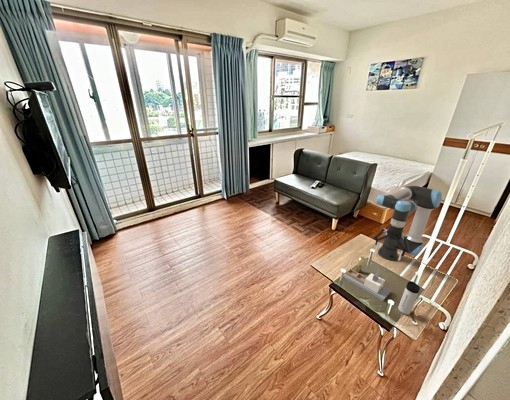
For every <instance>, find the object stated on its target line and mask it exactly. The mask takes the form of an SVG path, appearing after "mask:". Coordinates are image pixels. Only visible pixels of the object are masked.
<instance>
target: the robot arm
mask: <svg viewBox="0 0 510 400" xmlns="http://www.w3.org/2000/svg"><path fill="white" fill-rule="evenodd" d="M442 198H443V197H442V192H441V191H440V190H437V189H433V188H429V187H425V186H424V187H423V186H418V185H407V186H402V187H400V188H399V189H398V190H397V191H394V192H391V193H389V194H387V195H386V194H378V196H377V197H376V199H375V203H376V205H377V206H380V207H383V208H387V209H390V210H393V213H392V217H391V219H390V223H389V226H388V228H387V229H386V228H385V227H383V228H382V229H381V231H380V232H379V233H377V234H376V235H375V236H374V237H373V240H375V244H374V245H375V251H377V255H378V256H380V257H381V258H383V259H384V260H387V261H396V260H397V261H400V260H401V259H402V257H404V256H405V254H409V255H411V256H413V257H414V256H415V257H416V256H418V255H419V254H420V253H421V252H422V250H423V248H424V247H425V243H423V242H424V241H423V238H422V237H423V235H424V231H425V229H426V227H427V223H428V221H429V219H430V216H431V213H432V211H434V210H435V209H436V208H439V207H440V205H441V201H442ZM414 212H415V213H414ZM413 213H414V216H413V220H412V222H411V225H410V228H409V232H408V234H405V235H404V233H403V231H404V228H405V225H406V222H407V221H408V217H409V215H411V214H413ZM383 233H385V235H382V234H383ZM381 235H382V236H381ZM382 240H383V242H382V244H381V241H382ZM380 244H381V246H380ZM398 250H400V254H399V253H398V252H399V251H398Z"/></svg>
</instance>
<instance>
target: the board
mask: <svg viewBox="0 0 510 400" xmlns="http://www.w3.org/2000/svg"><path fill="white" fill-rule="evenodd" d="M343 277H344V278H345V280H346V281H348V282H349V283H352V284H353V285H355V286H356V287H358V288H359V289H362V290H363V291H365V292H366V293H368V294H370V295H372V296H374V297H375V298H377V299H379V300H381V301H382V302H384V301H385V300H386V298H387V297H388V296H389V294H391V290H390V289H389V288H387V287H385V286H384V285H383V287H382V288H381V289H380V291H379V292H378V293H376V292H374V291H373V290H371V289H369V288H367V287H366V286H364V282H365V279H366V278H367V277H368V276H365V275H363V274H362V273H358V272H356V270H355V269H352V268H349V269H348V270H346V271H345V273H344V274H343V275H342V278H343ZM344 278H343V279H344Z"/></svg>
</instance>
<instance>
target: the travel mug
mask: <svg viewBox="0 0 510 400" xmlns="http://www.w3.org/2000/svg"><path fill="white" fill-rule="evenodd" d="M420 290H421V287H420V286H419V285H418V284H417V283H415V282H414V281H412V280H410V281H408V282H407V283H406V286H405V288H404V290H403V293H402V296H401V299H400V302H399V304H398V307H397V310H398V312H400V313H401V314H402V315H404V316H410V314H411V312H412V309H413V307H414V305H415V302H416V300H417V297H418V295H419V292H420Z"/></svg>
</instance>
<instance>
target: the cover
mask: <svg viewBox="0 0 510 400" xmlns="http://www.w3.org/2000/svg"><path fill="white" fill-rule="evenodd" d="M366 277H367V278H366V279H365V282H364V286H366V287H367V288H369V289H371V290H373V291H374V292H376V293H378V292H379V291H380V289H381V288H382V287H383V286H384V285H385V281H386V279H384V278H382V277H380V273H379V272H377V271H376V273H373V272H371V273H370V274H368V275H367V276H366Z"/></svg>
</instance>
